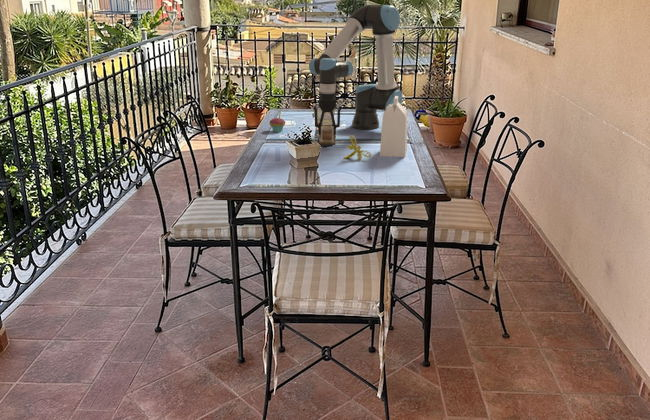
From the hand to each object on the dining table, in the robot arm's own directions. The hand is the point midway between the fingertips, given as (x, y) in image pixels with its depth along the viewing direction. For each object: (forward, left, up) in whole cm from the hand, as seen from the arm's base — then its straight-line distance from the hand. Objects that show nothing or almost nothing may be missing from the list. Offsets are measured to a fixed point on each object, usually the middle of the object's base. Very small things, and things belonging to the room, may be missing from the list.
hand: (327, 141), depth 277 cm
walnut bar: (0, +1, +2) cm, 2 cm away
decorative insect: (-14, +21, -3) cm, 25 cm away
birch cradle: (0, -14, -3) cm, 14 cm away
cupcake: (+27, -33, -3) cm, 43 cm away
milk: (-31, +10, -3) cm, 33 cm away
